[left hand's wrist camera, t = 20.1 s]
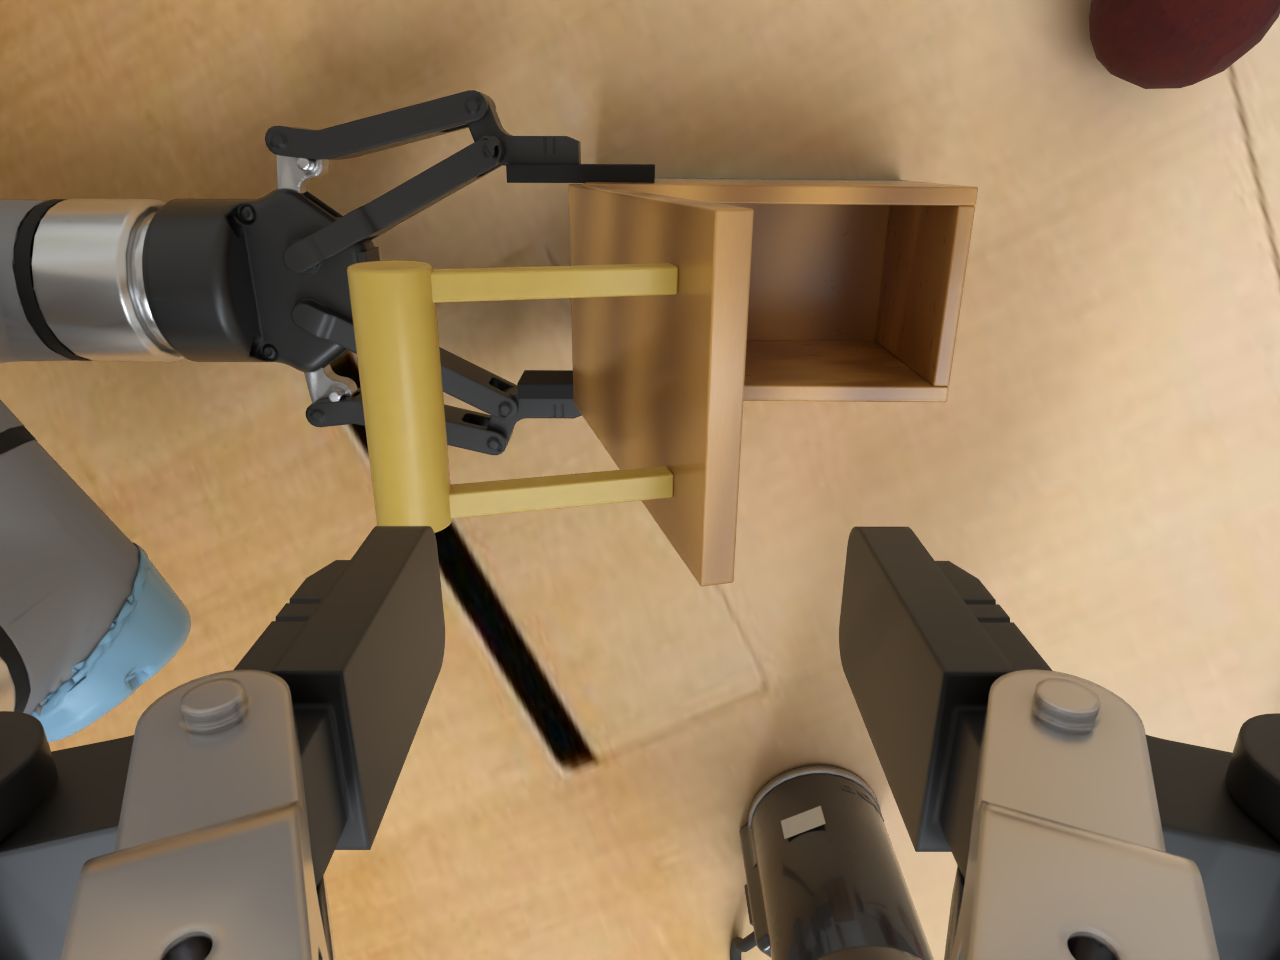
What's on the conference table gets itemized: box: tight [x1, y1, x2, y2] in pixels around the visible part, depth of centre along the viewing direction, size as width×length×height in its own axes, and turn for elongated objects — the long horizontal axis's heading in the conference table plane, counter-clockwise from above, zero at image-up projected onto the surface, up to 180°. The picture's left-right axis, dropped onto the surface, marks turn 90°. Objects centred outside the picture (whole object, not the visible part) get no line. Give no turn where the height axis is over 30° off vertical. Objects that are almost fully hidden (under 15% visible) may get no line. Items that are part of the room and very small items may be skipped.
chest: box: [583, 178, 978, 402], centre depth 40 cm, size 16×9×11 cm, turn 90°
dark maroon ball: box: [1089, 0, 1280, 89], centre depth 38 cm, size 7×8×7 cm
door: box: [347, 184, 754, 586], centre depth 26 cm, size 17×9×9 cm
